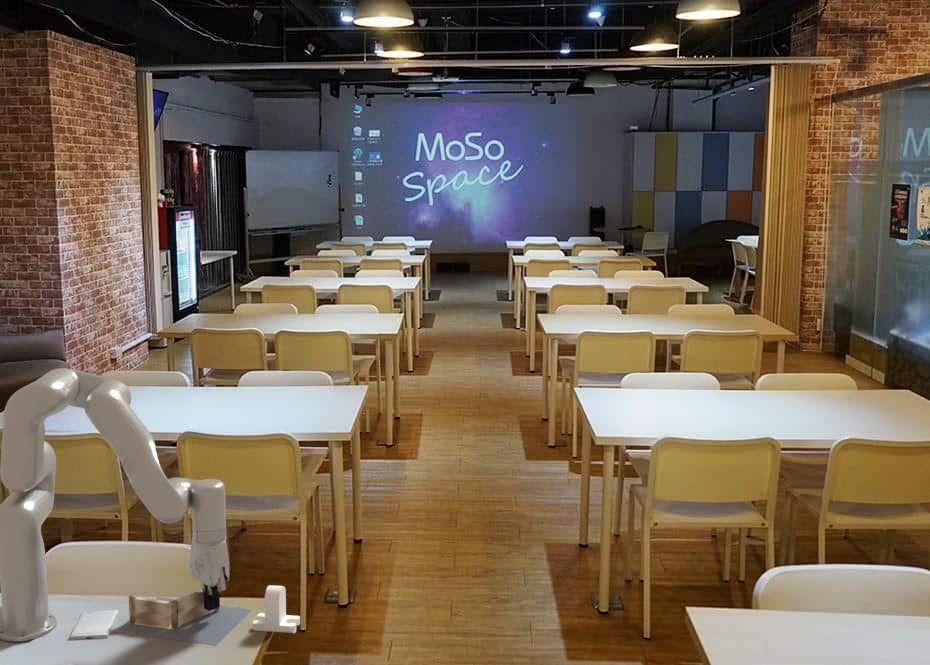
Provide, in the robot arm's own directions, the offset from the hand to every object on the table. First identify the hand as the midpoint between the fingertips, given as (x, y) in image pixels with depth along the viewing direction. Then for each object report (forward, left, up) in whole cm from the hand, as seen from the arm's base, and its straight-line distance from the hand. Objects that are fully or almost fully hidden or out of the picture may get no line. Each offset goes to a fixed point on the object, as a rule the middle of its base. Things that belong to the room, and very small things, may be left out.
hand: (211, 607), depth 224 cm
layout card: (-6, -2, -3) cm, 7 cm away
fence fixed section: (-13, -6, -3) cm, 14 cm away
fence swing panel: (-4, -1, -2) cm, 5 cm away
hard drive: (-24, -10, -4) cm, 26 cm away
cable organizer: (+16, +1, -4) cm, 16 cm away
